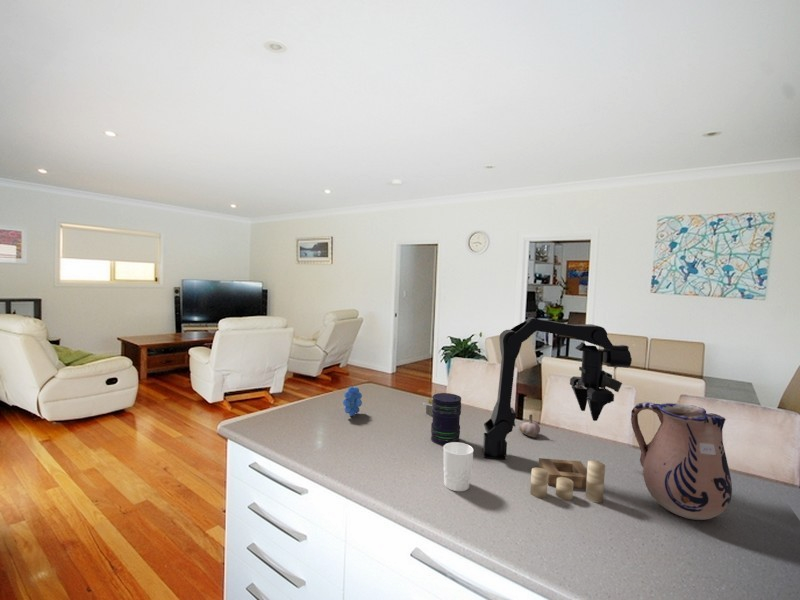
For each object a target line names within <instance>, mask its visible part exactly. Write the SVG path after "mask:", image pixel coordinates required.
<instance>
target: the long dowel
mask: <svg viewBox="0 0 800 600" xmlns="http://www.w3.org/2000/svg"><path fill="white" fill-rule="evenodd" d="M586 468H587V481H586V488H585V498H586V500H588V501H590V502H592V503H596V504H601V503H603V502H604V491H605V490H604V489H605V488H604V487H605V478H606V477H605V476H606V475H605V474H606V465H605V463H603V462H601V461H598V460H588V461H587V466H586Z"/></svg>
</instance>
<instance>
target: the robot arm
mask: <svg viewBox="0 0 800 600" xmlns="http://www.w3.org/2000/svg"><path fill="white" fill-rule="evenodd" d="M536 332H541V333H547V334H555V335H558V336H565V337H571V338H574V339H578V340H580V341H582V342H580V343H579V344H578V345H577V346H575V350H578V351H580V352H582V356H581V366H579V368H578V370H579V371H580V376H573V375H572V377H570V379H569V386H571V389H572V391H573V393H574V396H575V399H576V401H577V404H578V405H579V409H580V411H581V412H585V411H586V408H587V404H588V408H589V411H590V416H591V418H592V421H593V422H597V421H598V419H599V417H600V415H601V413H602V411H603V408H604V407H605V406H606V405H607V404H610V403H612V402H615V394H614V393H613V391H614V392H617V393H619V391H620V389H621V387H622V385H623V383H622V381H620V380H617V379H615V378H613V375H612V374H611V373H609V372H606V371H605V370H604V369H603V364H605V366H606V367H608V368H610V367H611V368H623V369H625V368H626V369H628V368H630V367H631V364H632V360H633V358H632V355H631V351H630V350H629V348H630V347H629V346H628V345H626V344H620V345H616V344H615V345H614V344H612V342H611V340H610V339H609V337H608V332H607V330H606V329H605V327H603V326H600V325H595V324H591V323H590V324H587V323H586V324H585V323H584V324H582V323H581V324H570V323H564V322H558V321H552V320H545V319H540V318H536V317H532V316H531V317H528V318H527V319H526V320H524V321H523V322H521V323H519V324H517V325H515V326H513V327H512V328H511V329H505V330H503V331H502V332H501V333H500V335H499V339H498V340H499V348H500V349H499V350H500V355H501V359H500V360H501V361H500V362H501V363H500V371H499V372H500V373H499V382H498V389H497V392H498V393H497V399H496V402H495V405H494V407H493V410H492V413H491V417H490V418H489V419H487V421H485V423H484V424H483V426H484V429H485V432H483V441H482V443H483V445H482V447H481V451H482V454H483V458H485V459H495V460H506V459H507V457H506V455H507V449H508V448H507V447H508V442H507V440H506V438H507V436H508V434H511V432H512V431H513V428H514V427H516V422H515V420H516V418H517V412H516V411H515V409H514V407H512V404H511V403H512V395H513V385H514V376H515V368H516V367H515V366H516V365H515V364H516V360H517V358H518V356H519V353H520V351H521V347H522V344H523V343H524V342H525V341H527V340H528V339H529V338H530V337H531V336H532V335H534V334H535V333H536ZM583 341H584V342H583ZM585 342H586V343H589V344H592V345H587V344H586V343H585ZM598 347H600V348H598ZM610 389H611V390H612V391H611V390H610Z"/></svg>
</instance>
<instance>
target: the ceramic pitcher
mask: <svg viewBox="0 0 800 600" xmlns="http://www.w3.org/2000/svg"><path fill="white" fill-rule="evenodd" d="M644 410H645V411H646V410H649V411H652V412H653V413H655V414H656V415H657V417H658V420H659V422H660V425H659V427H658V429H657V432H656V433H655V434H654V436H653V438H652V439H651V441H650V442H649V443H647V442H646V441H645V437H644V435H643V433H642V430H641V428H640V425H639V413H641V412H642V411H644ZM630 417H631V418H630V422H631V428H632V430H633V433H634V437H635V439H636V441H637V443H638V447H639V450H640V459H639V462H640V465H641V467H642V474H643V479H644V484H645V487H646V488H647V491H648V493H650V495H651V497H652V498H653V499H654V500H655V502H656V503H657V504H659V505H660V506H661V507H663V508H664V509H666V510H667V511H668V512H671V513H672V514H675V516H679V517H681V518H684V519H689V520H696V521H703V520H704V521H705V520H711V519H713V518H715V517H717V516H719V515H721V514H722V513H724V512H725V511H726V510H727V508H728V507H729V505H730V503H731V500H732V495H733V494H732V493H733V486H732V477H731V472H730V467H729V464H728V459H727V455H726V450H725V446H724V443H723V441H724V439H723V429H724V425H725V422H726V420H727V418H725V417H724V416H722V415H720V414H717V413H708V412H707V410H706V409H705V408H703V407H700V406H696V405H693V404H692V405H691V404H690V405H689V404H680V403H673V402H672V403H671V402H669V403H668V402H667V403H654V402H648V401H646V402H645V401H643V402H639V403H637V404H636V405H635V406H634V407H633V408H632V410H631V415H630Z"/></svg>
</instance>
